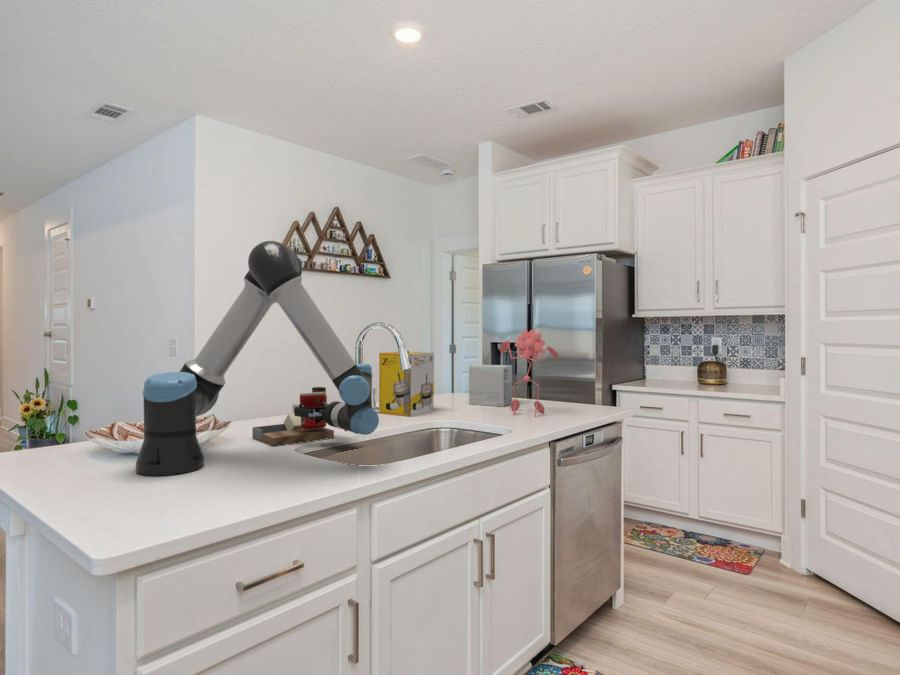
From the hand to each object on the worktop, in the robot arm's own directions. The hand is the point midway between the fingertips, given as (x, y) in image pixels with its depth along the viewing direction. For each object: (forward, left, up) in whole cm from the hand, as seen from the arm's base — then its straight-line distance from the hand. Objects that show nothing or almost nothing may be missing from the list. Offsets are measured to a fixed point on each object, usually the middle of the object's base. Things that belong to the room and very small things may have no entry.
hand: (306, 406), depth 182 cm
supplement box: (+101, +17, -10) cm, 103 cm away
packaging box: (+55, +20, -10) cm, 59 cm away
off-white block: (-2, +1, -7) cm, 8 cm away
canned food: (0, -6, -6) cm, 8 cm away
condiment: (+19, +29, -10) cm, 36 cm away
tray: (-5, +3, -9) cm, 11 cm away
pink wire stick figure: (+93, -14, -10) cm, 95 cm away
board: (-5, -5, -9) cm, 12 cm away
